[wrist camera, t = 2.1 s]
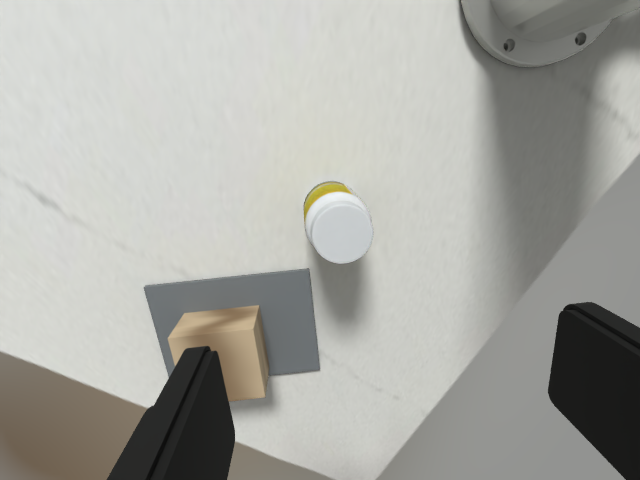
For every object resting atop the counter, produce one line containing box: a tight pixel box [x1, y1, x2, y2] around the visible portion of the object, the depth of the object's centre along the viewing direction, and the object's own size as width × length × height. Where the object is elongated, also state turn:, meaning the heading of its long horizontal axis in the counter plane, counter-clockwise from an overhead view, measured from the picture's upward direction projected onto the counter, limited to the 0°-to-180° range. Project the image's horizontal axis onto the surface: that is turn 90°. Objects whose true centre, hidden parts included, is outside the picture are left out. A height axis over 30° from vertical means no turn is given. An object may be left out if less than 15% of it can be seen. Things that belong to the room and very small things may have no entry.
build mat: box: [144, 269, 320, 377], centre depth 31 cm, size 15×11×1 cm
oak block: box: [168, 305, 269, 401], centre depth 30 cm, size 7×7×4 cm
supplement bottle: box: [304, 181, 373, 264], centre depth 25 cm, size 5×5×8 cm
